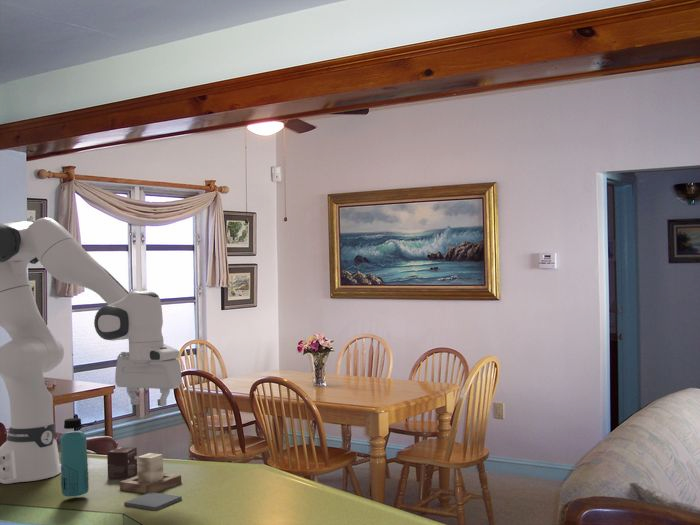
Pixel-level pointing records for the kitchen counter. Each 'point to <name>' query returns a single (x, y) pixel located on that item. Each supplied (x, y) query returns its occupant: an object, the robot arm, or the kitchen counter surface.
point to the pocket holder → (150, 484)
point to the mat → (153, 501)
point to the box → (122, 463)
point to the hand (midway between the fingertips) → (148, 405)
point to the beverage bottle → (74, 460)
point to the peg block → (150, 468)
